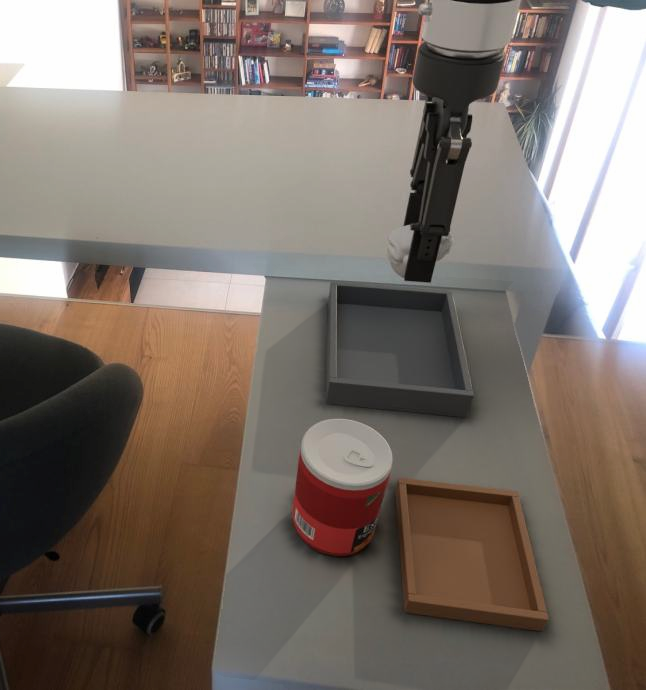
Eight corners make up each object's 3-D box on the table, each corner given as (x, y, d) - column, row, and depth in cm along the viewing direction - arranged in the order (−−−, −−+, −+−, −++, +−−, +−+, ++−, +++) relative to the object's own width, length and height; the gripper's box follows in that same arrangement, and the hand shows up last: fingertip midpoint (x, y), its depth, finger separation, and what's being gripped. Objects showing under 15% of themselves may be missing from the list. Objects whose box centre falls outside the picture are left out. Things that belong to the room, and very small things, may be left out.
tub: (466, 417, 78) (474, 395, 76) (325, 403, 80) (329, 381, 78) (446, 311, 93) (452, 290, 90) (327, 302, 95) (330, 281, 92)
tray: (541, 631, 59) (549, 620, 58) (404, 612, 61) (408, 600, 59) (512, 503, 69) (518, 491, 68) (394, 489, 71) (398, 477, 69)
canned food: (368, 568, 64) (388, 495, 57) (283, 545, 66) (292, 471, 59) (378, 503, 69) (398, 429, 62) (299, 483, 71) (309, 409, 64)
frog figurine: (435, 298, 75) (450, 243, 70) (372, 281, 77) (382, 227, 73) (449, 270, 79) (464, 216, 74) (389, 255, 81) (399, 201, 77)
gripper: (411, 13, 69) (376, 217, 84) (430, 80, 55) (384, 311, 70) (489, 15, 68) (440, 221, 83) (529, 84, 54) (461, 317, 69)
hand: (414, 262), depth 77 cm, fingers closed on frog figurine, 6 cm apart
